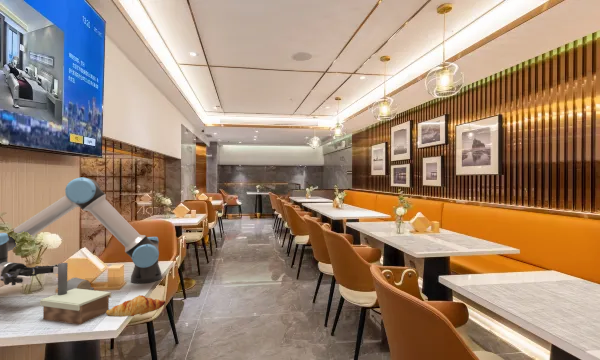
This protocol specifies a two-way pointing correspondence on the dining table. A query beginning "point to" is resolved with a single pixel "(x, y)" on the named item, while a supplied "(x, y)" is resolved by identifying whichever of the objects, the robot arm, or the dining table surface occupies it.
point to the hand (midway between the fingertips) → (48, 275)
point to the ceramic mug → (78, 284)
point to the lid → (70, 294)
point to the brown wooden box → (78, 312)
